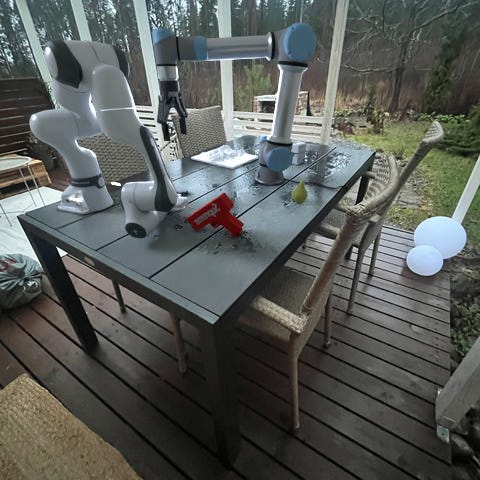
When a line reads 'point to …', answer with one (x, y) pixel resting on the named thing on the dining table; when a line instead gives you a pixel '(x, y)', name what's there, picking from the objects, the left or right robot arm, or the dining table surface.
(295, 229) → the dining table surface
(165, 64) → the right robot arm
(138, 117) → the left robot arm
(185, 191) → the lid
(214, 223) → the toy gun
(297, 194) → the fruit
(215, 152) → the relief map
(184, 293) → the dining table surface
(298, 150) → the ink box
